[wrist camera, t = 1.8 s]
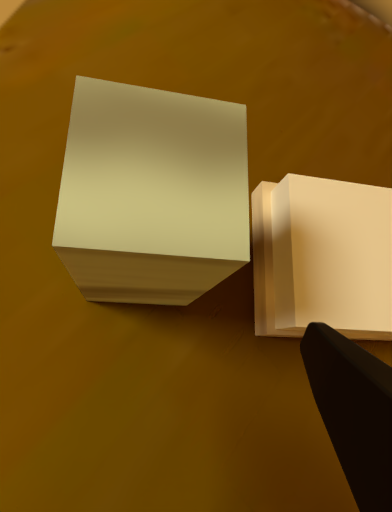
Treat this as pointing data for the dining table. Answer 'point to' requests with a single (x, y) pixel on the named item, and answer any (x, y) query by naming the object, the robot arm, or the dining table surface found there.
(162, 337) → the dining table surface
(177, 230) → the pillar block
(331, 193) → the tower top slab
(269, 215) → the tower base slab
